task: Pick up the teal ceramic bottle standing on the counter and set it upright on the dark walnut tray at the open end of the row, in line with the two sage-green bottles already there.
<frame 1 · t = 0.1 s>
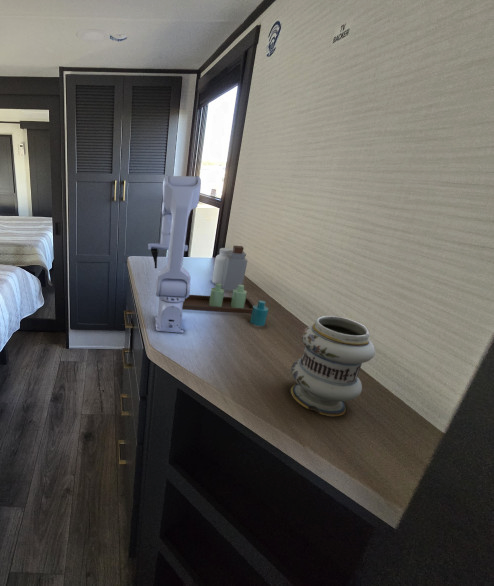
hand: (165, 268, 120), 10 cm above the table, tool pointing down, fingers open, 7 cm apart
green bottle far: (237, 306, 110), point 1 cm above the table, touching tray
teal bottle: (256, 324, 99), on the table
green bottle middle: (215, 305, 111), point 1 cm above the table, touching tray
apothecary jar: (317, 400, 66), on the table
tray: (214, 307, 111), on the table
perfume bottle: (230, 290, 128), on the table
pill bottle: (221, 283, 136), on the table
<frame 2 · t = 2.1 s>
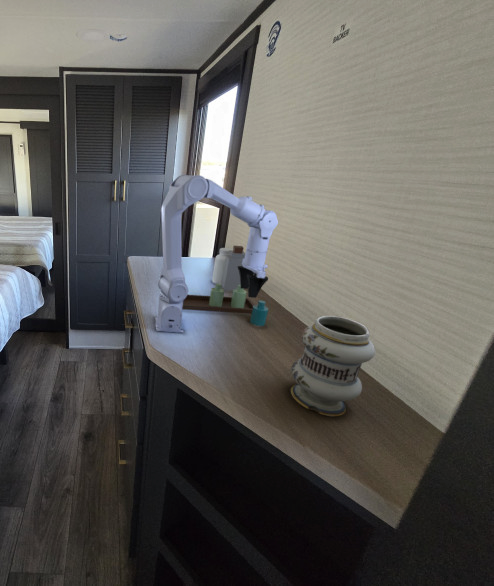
hand: (248, 292, 99), 10 cm above the table, tool pointing down, fingers open, 7 cm apart
nothing on the table moved.
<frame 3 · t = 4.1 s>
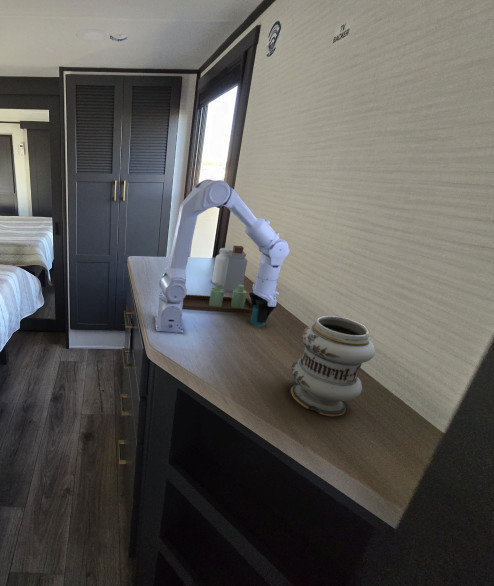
hand: (258, 318, 98), 2 cm above the table, tool pointing down, fingers closed on teal bottle, 4 cm apart
teal bottle: (256, 324, 99), on the table, touching gripper
everything else where it was.
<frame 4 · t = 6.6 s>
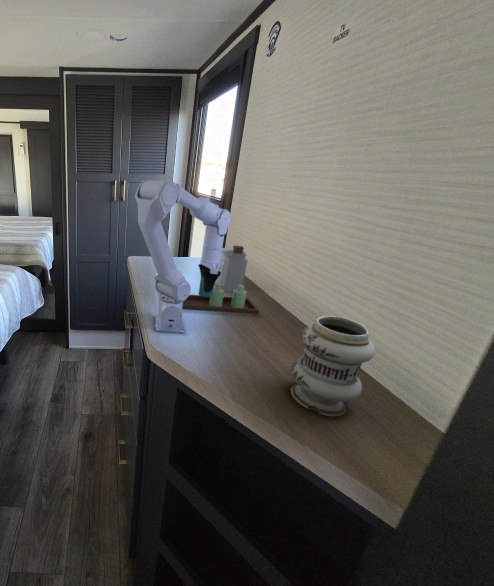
hand: (206, 288, 102), 9 cm above the table, tool pointing down, fingers closed on teal bottle, 4 cm apart
teal bottle: (205, 294, 103), point 7 cm above the table, touching gripper
everything else where it was.
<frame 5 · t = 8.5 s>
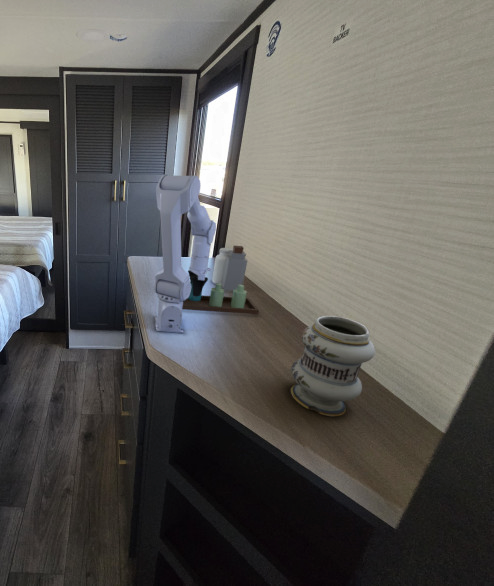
hand: (195, 293, 110), 5 cm above the table, tool pointing down, fingers closed on teal bottle, 4 cm apart
teal bottle: (194, 298, 111), point 3 cm above the table, touching gripper
everything else where it was.
when the fingers open (3 cm above the table, at t = 9.6 s): teal bottle stays where it is, resting on tray.
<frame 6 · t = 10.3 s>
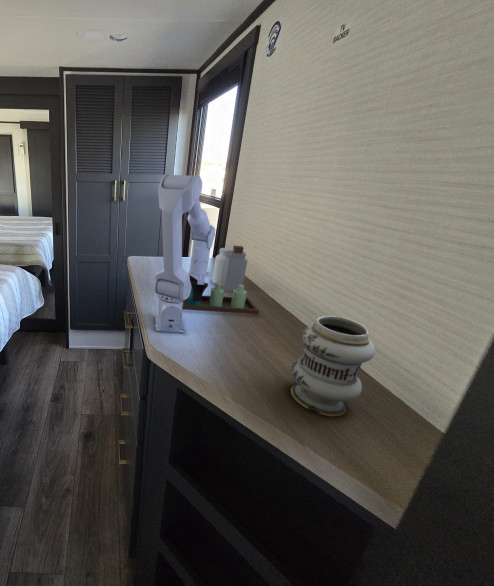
hand: (194, 297, 111), 3 cm above the table, tool pointing down, fingers open, 7 cm apart
teal bottle: (193, 304, 112), point 1 cm above the table, touching tray
everything else where it was.
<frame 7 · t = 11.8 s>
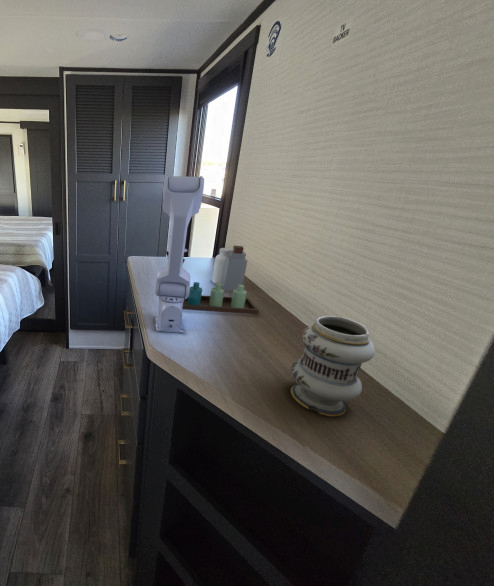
hand: (172, 274, 112), 10 cm above the table, tool pointing down, fingers open, 7 cm apart
nothing on the table moved.
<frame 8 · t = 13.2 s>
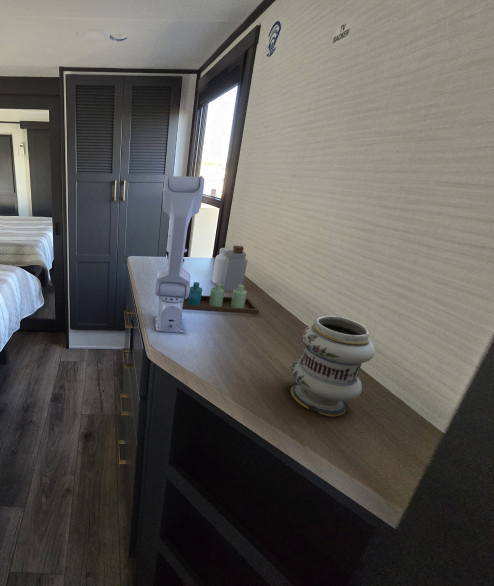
hand: (172, 274, 113), 10 cm above the table, tool pointing down, fingers open, 7 cm apart
nothing on the table moved.
at the end: teal bottle 0.1 cm from the target spot in the tray, point 0.8 cm above the tray's base; teal bottle tilted 0°; green bottle middle moved 0.0 cm from its start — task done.
